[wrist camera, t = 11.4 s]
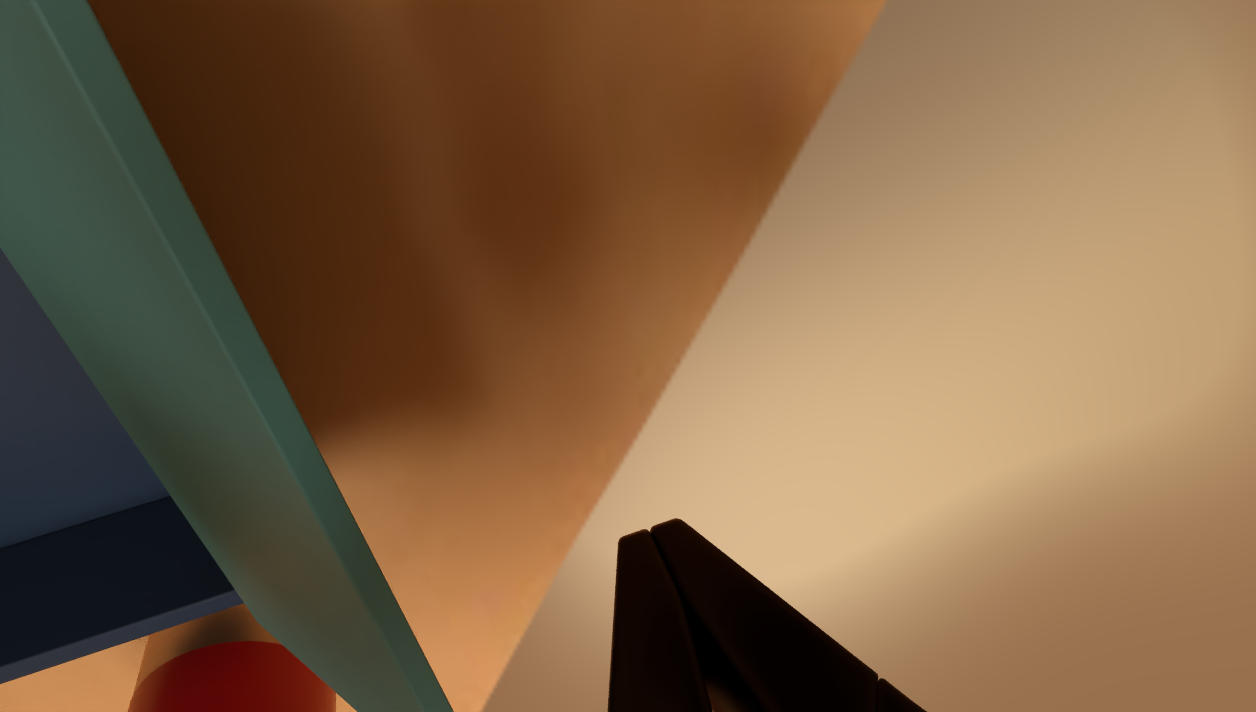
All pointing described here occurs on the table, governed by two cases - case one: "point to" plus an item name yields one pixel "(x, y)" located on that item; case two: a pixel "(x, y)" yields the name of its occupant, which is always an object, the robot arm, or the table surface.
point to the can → (225, 670)
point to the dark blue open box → (81, 511)
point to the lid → (185, 356)
